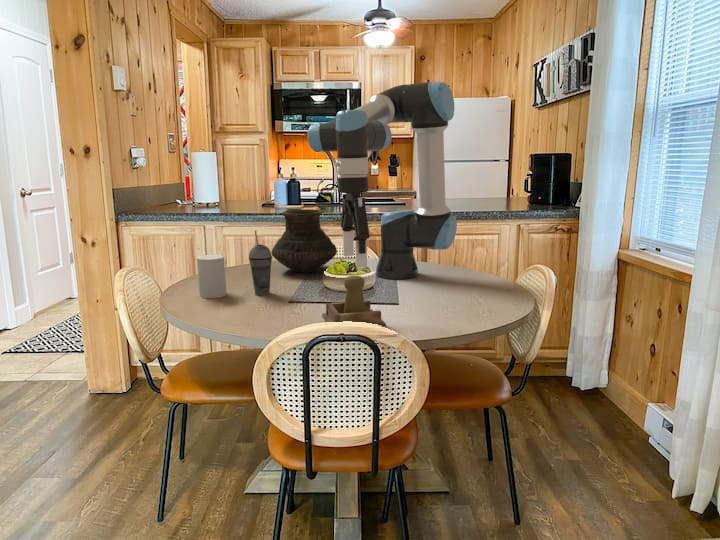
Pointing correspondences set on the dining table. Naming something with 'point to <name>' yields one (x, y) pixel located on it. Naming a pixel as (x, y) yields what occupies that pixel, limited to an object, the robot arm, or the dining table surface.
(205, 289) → the grey cylinder
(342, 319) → the brown wooden tray
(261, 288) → the beverage cup
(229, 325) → the dining table surface
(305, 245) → the ceramic pot
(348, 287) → the olive tall piece
